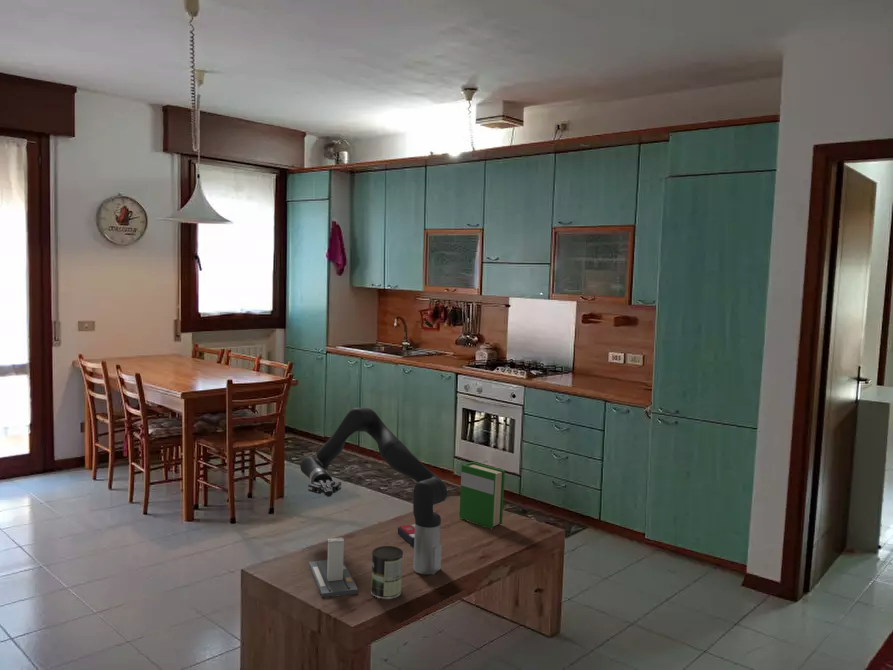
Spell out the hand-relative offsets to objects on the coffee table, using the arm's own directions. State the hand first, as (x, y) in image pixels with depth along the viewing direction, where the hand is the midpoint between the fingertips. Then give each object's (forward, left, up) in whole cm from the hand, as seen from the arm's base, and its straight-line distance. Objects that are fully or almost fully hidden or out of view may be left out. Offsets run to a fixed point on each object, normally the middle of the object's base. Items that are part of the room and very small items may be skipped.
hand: (329, 494), depth 263 cm
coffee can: (-30, +11, -26) cm, 41 cm away
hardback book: (-34, -68, -26) cm, 81 cm away
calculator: (-18, -38, -26) cm, 50 cm away
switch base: (-9, +11, -26) cm, 29 cm away
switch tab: (-12, +14, -24) cm, 30 cm away
